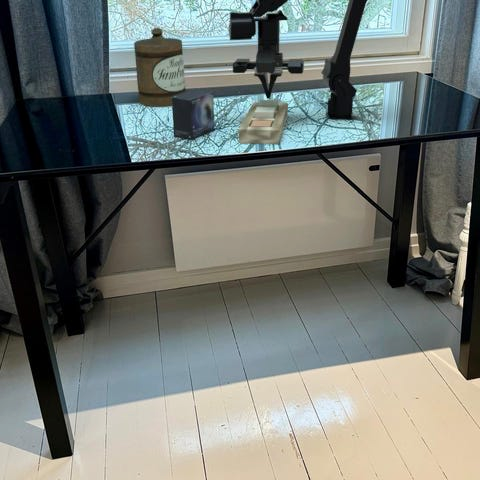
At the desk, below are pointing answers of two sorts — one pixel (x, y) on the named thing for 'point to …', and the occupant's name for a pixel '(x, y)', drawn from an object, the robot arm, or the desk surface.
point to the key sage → (269, 104)
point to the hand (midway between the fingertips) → (268, 98)
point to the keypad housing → (263, 133)
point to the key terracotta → (261, 123)
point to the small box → (193, 113)
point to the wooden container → (159, 69)
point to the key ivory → (264, 112)
